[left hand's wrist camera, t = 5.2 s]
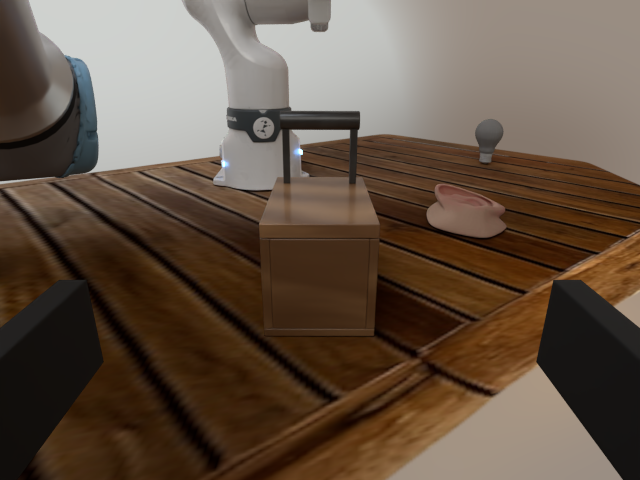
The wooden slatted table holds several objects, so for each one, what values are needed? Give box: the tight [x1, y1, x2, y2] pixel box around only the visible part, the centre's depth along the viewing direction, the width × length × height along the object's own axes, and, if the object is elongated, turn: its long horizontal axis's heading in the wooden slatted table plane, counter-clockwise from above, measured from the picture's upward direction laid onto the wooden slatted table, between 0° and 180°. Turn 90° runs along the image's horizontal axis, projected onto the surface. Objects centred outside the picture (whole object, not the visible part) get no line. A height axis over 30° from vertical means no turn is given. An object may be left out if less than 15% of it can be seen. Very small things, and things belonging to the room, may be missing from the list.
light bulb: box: [475, 119, 503, 164], centre depth 103 cm, size 6×6×10 cm
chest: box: [260, 238, 379, 336], centre depth 43 cm, size 15×9×9 cm, turn 0°
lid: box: [259, 111, 380, 238], centre depth 41 cm, size 16×9×8 cm, turn 0°
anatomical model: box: [427, 184, 506, 238], centre depth 65 cm, size 13×4×12 cm
